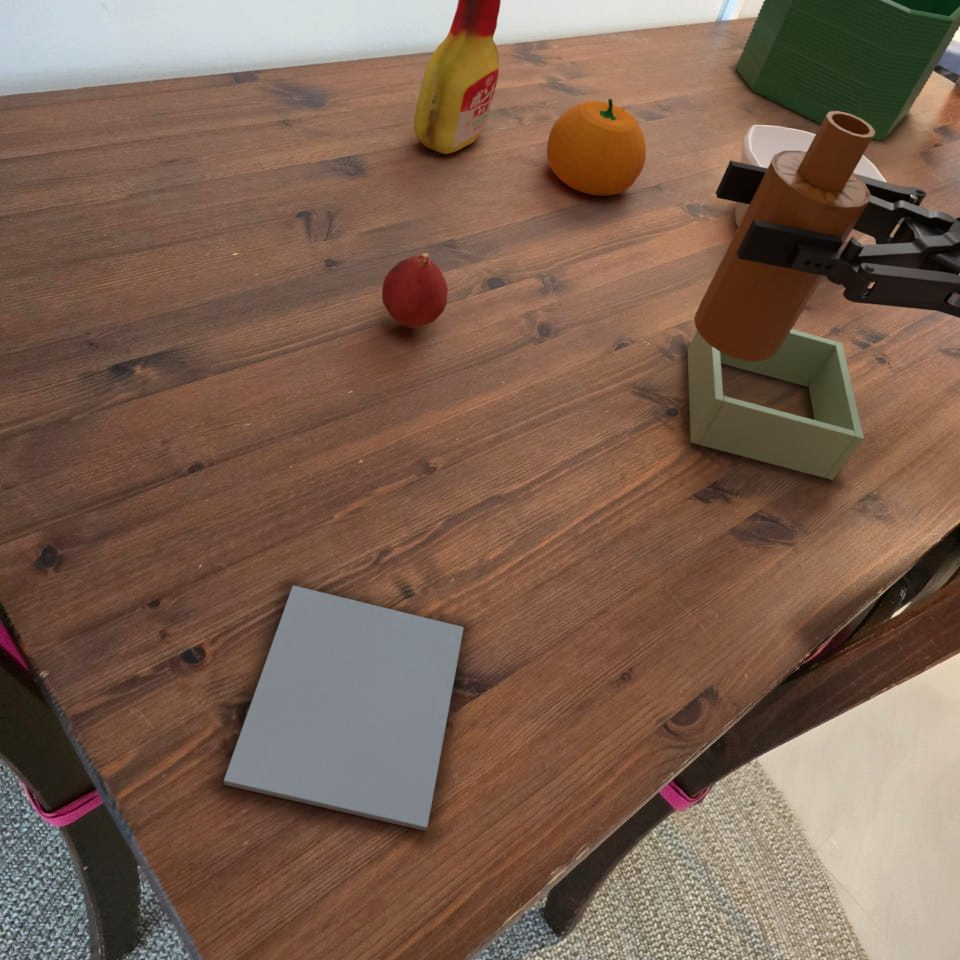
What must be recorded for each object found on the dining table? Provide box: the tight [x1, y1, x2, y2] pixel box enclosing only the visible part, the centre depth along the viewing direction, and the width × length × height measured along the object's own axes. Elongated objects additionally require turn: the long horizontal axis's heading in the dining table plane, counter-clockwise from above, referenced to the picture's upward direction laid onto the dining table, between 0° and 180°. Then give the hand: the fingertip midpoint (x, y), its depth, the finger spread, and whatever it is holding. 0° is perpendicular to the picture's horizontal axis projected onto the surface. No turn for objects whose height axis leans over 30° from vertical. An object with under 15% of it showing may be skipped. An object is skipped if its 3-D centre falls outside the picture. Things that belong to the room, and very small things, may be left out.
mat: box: [223, 585, 465, 832], centre depth 56 cm, size 14×12×1 cm
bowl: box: [734, 124, 888, 252], centre depth 106 cm, size 18×18×9 cm
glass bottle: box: [693, 111, 875, 362], centre depth 66 cm, size 7×7×18 cm
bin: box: [686, 328, 865, 481], centre depth 83 cm, size 14×14×6 cm
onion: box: [381, 252, 449, 329], centre depth 79 cm, size 6×6×8 cm
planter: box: [735, 0, 960, 141], centre depth 137 cm, size 26×26×18 cm
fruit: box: [546, 98, 647, 197], centre depth 104 cm, size 12×12×10 cm
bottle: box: [413, 0, 502, 155], centre depth 99 cm, size 12×6×20 cm, turn 141°
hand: (734, 208), depth 64 cm, fingers closed on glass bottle, 7 cm apart
